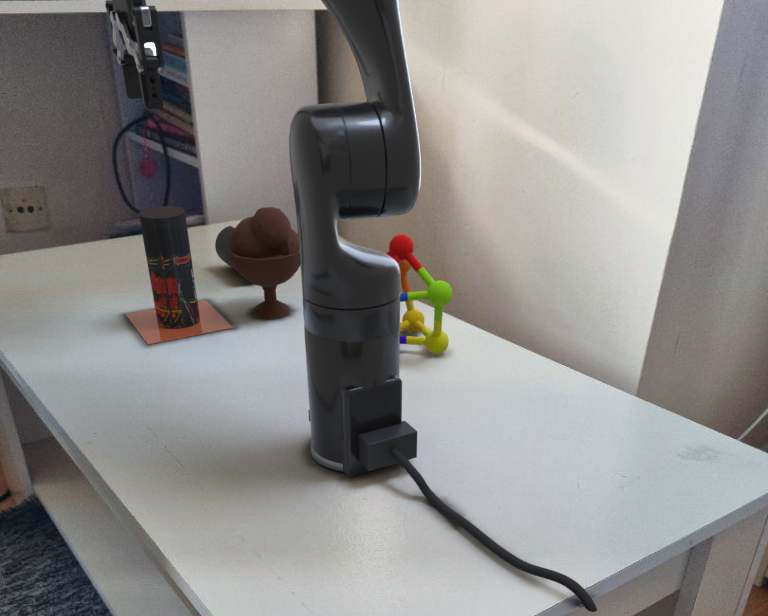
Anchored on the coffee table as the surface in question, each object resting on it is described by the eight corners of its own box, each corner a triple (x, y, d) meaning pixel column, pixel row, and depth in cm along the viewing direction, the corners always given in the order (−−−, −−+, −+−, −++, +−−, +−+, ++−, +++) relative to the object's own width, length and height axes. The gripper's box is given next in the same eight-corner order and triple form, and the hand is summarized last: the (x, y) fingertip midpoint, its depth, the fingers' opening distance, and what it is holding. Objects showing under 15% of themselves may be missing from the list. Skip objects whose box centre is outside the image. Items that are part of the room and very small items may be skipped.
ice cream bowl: (313, 299, 122) (308, 196, 113) (300, 328, 113) (293, 218, 104) (245, 297, 123) (234, 194, 114) (226, 325, 113) (213, 216, 105)
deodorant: (153, 316, 116) (134, 209, 107) (194, 310, 118) (179, 204, 109) (162, 331, 111) (143, 220, 103) (204, 324, 113) (189, 215, 105)
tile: (233, 328, 113) (233, 327, 113) (148, 344, 108) (148, 343, 108) (205, 300, 121) (205, 300, 121) (126, 315, 117) (126, 314, 117)
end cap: (217, 269, 133) (212, 228, 129) (257, 262, 136) (253, 221, 132) (241, 287, 126) (236, 244, 122) (282, 279, 129) (279, 237, 125)
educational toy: (331, 348, 110) (321, 234, 102) (409, 328, 115) (405, 219, 108) (392, 380, 98) (386, 254, 90) (476, 356, 104) (477, 236, 96)
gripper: (71, -59, 93) (100, 97, 102) (99, -60, 83) (128, 114, 92) (136, -59, 96) (158, 93, 105) (171, -60, 85) (192, 109, 95)
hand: (144, 103), depth 98 cm, fingers open, 8 cm apart
